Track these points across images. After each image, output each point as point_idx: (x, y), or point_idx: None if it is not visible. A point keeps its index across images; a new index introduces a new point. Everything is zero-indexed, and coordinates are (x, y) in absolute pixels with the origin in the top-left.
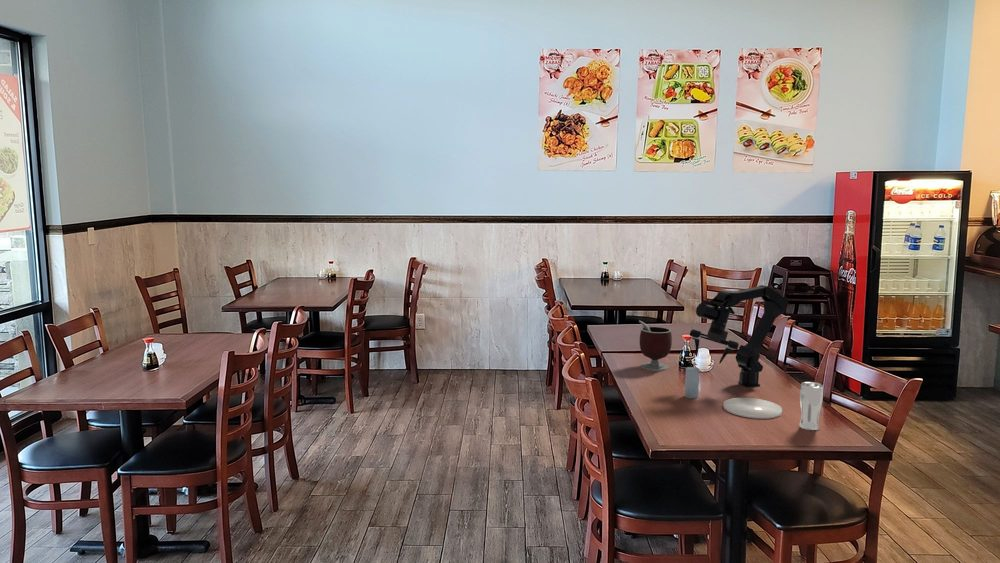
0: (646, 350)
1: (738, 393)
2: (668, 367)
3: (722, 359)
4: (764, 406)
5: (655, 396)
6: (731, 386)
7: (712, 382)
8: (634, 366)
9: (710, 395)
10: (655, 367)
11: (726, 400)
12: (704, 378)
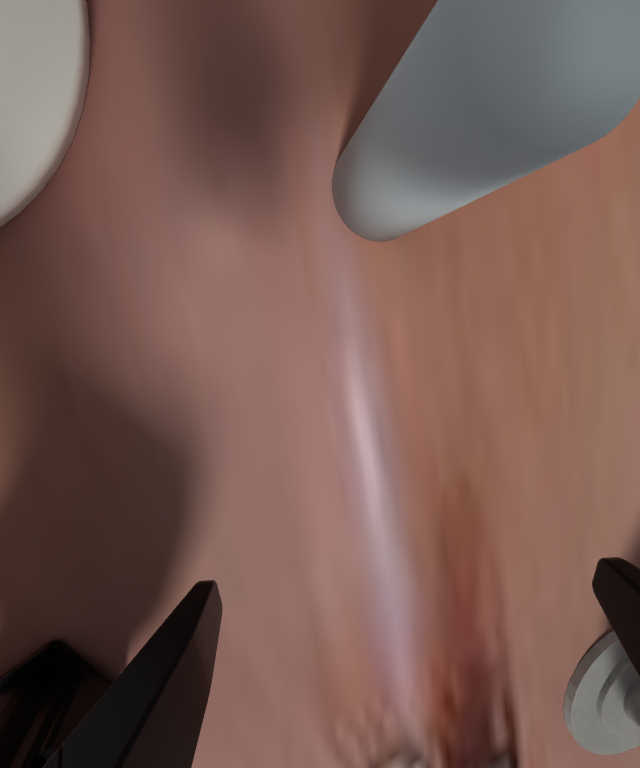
0: None
1: (62, 443)
2: (571, 709)
3: (140, 660)
4: None
5: None
6: (159, 587)
7: (301, 601)
8: None
9: (255, 285)
10: None
11: (67, 70)
12: (362, 652)
